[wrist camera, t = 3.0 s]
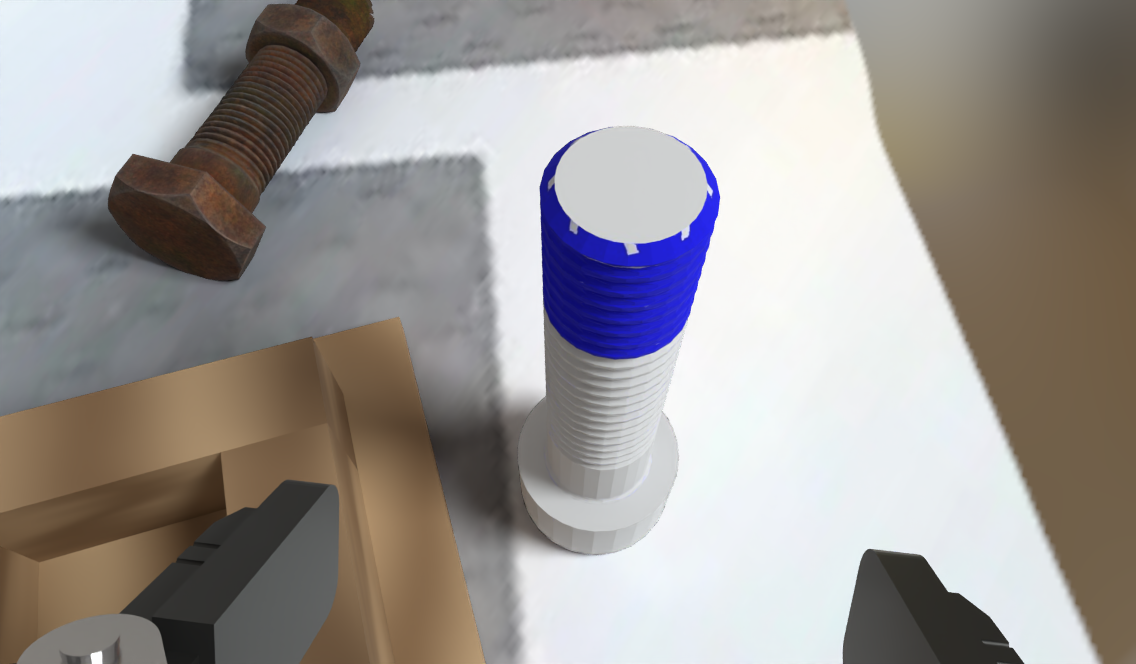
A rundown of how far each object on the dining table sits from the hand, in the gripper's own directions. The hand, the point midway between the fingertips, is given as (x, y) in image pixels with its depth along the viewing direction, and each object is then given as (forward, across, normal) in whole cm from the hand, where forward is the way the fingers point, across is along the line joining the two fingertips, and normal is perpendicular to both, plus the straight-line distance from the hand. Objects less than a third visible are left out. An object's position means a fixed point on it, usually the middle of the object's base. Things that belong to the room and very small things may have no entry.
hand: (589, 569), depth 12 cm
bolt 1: (+24, +15, -4) cm, 29 cm away
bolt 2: (+14, 0, +6) cm, 15 cm away
